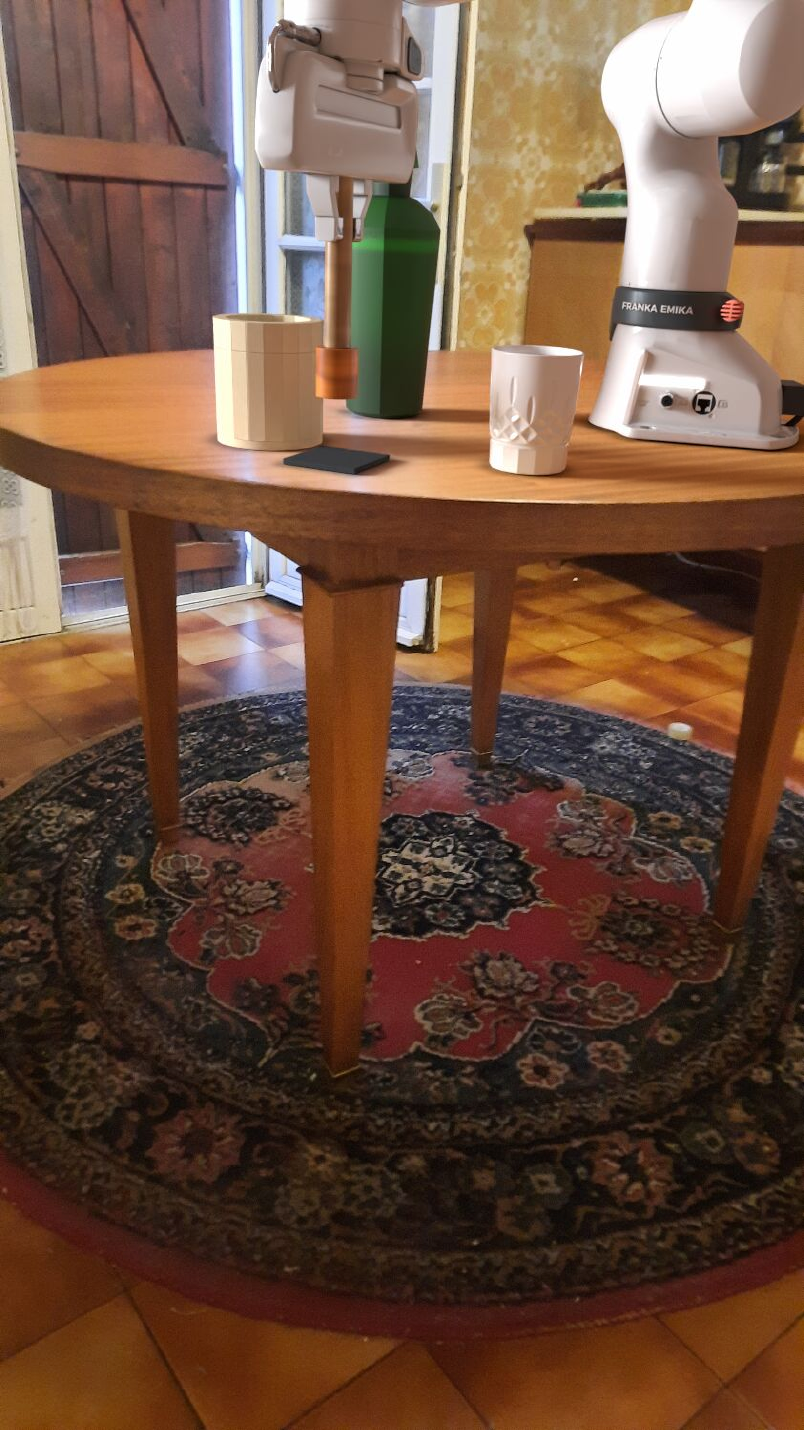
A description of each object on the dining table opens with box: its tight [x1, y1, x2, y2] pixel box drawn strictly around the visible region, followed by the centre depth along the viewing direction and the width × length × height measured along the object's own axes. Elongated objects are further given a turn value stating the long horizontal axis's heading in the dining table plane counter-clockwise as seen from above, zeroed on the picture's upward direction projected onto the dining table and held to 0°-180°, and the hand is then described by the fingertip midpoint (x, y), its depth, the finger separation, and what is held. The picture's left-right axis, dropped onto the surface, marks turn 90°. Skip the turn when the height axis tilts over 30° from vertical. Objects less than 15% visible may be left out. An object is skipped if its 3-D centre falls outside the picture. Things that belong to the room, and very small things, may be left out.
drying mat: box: [282, 445, 391, 475], centre depth 90 cm, size 7×7×1 cm
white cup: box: [489, 344, 585, 476], centre depth 89 cm, size 8×8×10 cm
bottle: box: [345, 149, 442, 419], centre depth 109 cm, size 11×11×28 cm
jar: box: [212, 312, 325, 452], centre depth 96 cm, size 10×10×11 cm
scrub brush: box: [316, 176, 359, 401], centre depth 84 cm, size 4×4×17 cm
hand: (339, 242), depth 83 cm, fingers closed on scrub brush, 2 cm apart
